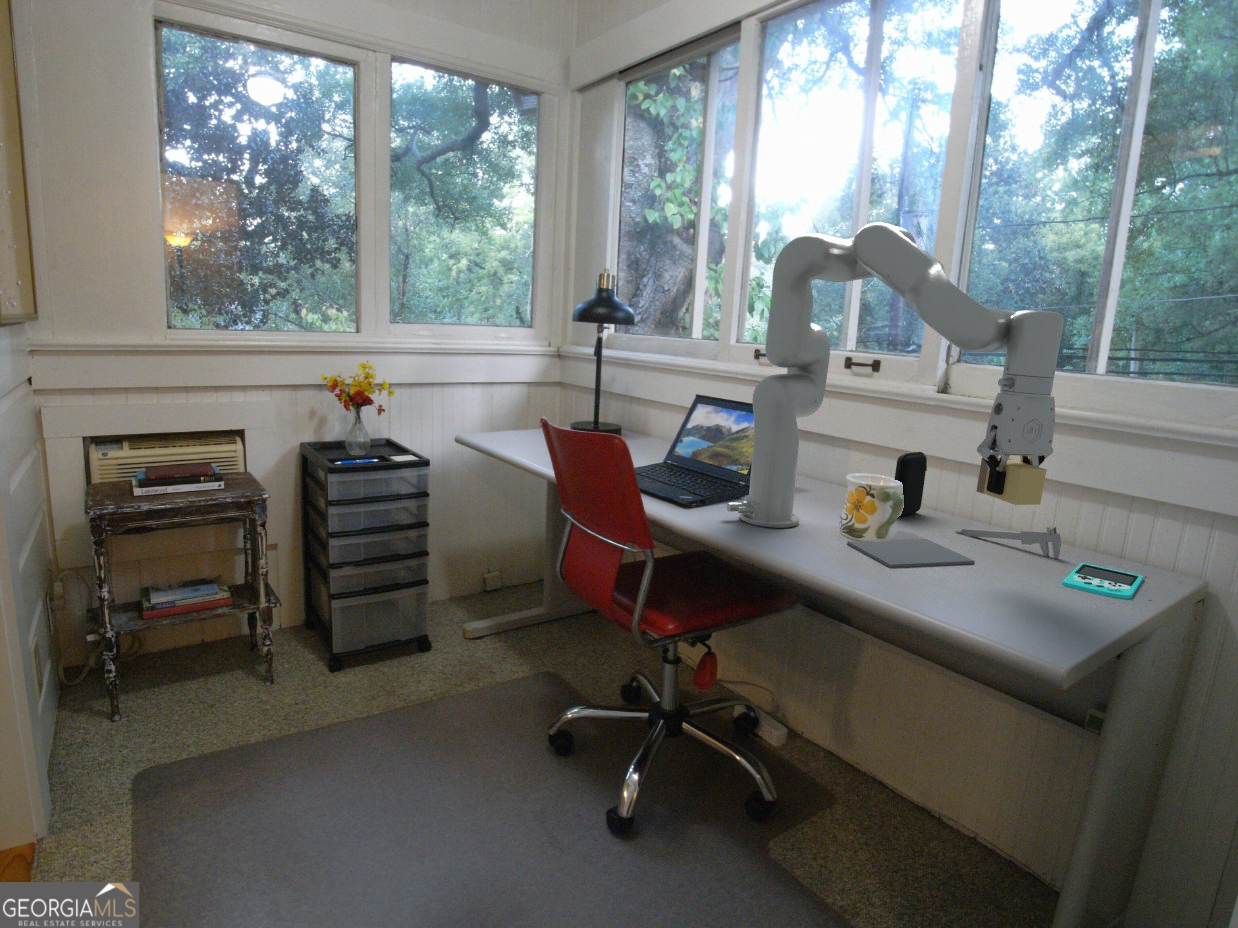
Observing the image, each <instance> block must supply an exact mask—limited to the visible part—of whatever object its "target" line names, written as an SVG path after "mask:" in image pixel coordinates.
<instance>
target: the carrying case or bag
mask: <svg viewBox="0 0 1238 928" xmlns="http://www.w3.org/2000/svg"><path fill="white" fill-rule="evenodd" d="M927 461H928V460H927V456H926V454H924V452H923V451H913V452H906V453H905V452H904V453H903V454H901V455H900V456H898V458H897V460H896V466H895V473H894V480H898V481H900V482H902V484H903V495H904V508H903V511H902V514H901V516H900V517H903V515H904V516H908V515H914V514H915V513H917V512H919V511H920V510H921V507H922V502H923V495H924V488H925V479H926V472H927V471H928V467H927V466H928V465H927V464H928V462H927Z"/></svg>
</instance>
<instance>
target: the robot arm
mask: <svg viewBox="0 0 1238 928" xmlns="http://www.w3.org/2000/svg"><path fill="white" fill-rule="evenodd" d="M776 257H777V258H776V259H775V262H774V266H773V271H772V283H771V299H770V307H769V313H768V314H769V315H768V319H767V320H768V321H767V328H766V329H767V330H766V337H765V349H764V350H765V356H766V358H767V360H768V362H769V363H770V364H772V366H775V367H779V368H786V369H787V370H786V373H778V374H777V373H776V374H771V375H769V376H766V377H764V378H763V379H761V380H760V381H759V382H758V383H757V385H756V386H755V388H754V390H753V393H752V414H753V443H752V457H751V469H750V478H749V481H750V482H749V491H748V496H747V497H744V498H743V499H744V500H741V501H740V502H727V503H726V510H727V512H736V513H737V514H739V517H740V520H742V521H743V522H745V523H748V524H751V525H753V526H758V527H764V528H775V529H776V528H777V529H783V528H784V529H786V528H787V529H788V528H792V527H797V526H798V525H799V524H800V517H799V516H798V515H797V514H795V513H793V512H794V511H793V510H794V503H795V502H794V501H795V491H796V480H797V467H798V461H799V460H798V459H799V449H800V434H799V427H798V423H797V419H798V418H805V417H809V416H811V415H814V414H815V413H816V412H817V411H818V410H819V409H820V407H821V405H822V403H823V401H824V398H825V393H826V385H827V379H828V373H829V372H828V371H829V364H830V355H831V343H830V342H831V341H830V339H829V336H828V334H827V332H826V331H825V330H824V328H823V327H822V326H820V325H818V324H815V323H813V322H812V316H813V315H812V313H813V308H814V295H813V289H812V281H815V280H819V281H825V282H832V283H845V282H853V281H857V280H858V281H859V280H864V279H870V278H877V279H878V280H879V281H880V282H882V283H883V284H884V285H886V286H887V287H888V288H889V289H890V290H892V291H893V292H894V293H896V294H897V295H898V296H899V297H901V298H902V299H903V300H905V301H906V302H907V303H908V305H909V307H910V308H911V309H912V310H913V311H914V312H915V313H916V314H917V315H918V317H919V318H921V320H922V321H923V322H924V323H925V324H926V325H928V326H929V327H930V328H931V329H933V330H934V331H935V332H936V333H938V334H939V335H940V336H942V338H944V339H945V340H946V341H948V342H949V343H951V344H952V345H954V346H955V347H957V348H958V349H960V350H963V351H966V352H970V353H971V352H972V353H973V352H974V353H975V352H976V353H977V352H979V353H998V352H1005V359H1004V365H1003V371H1002V377H1001V378H999V379H998V381H997V385H998V386H999V387H1000V390H999V392H997V393H996V396H995V398H994V401H993V405H992V407H991V411H990V414H989V419H988V422H987V428H986V430H985V431H986V433H985V438H984V439H983V441H982V442H981V443H980V444H979V445H978V446H977V448H976V451H977V453H978V454H979V455H980V456H981V458H983V459H984V460H985V462H986V463H987V467H988V468H990V471H989V477H988V483H987V491H989V492H992V493H995V494H998V495H1002V494H1003V490H1004V484H1005V478H1006V472H1005V471H1003V470H1004V468H1005V466H1006V463H1007V461H1008V459H1010V456H1019V459H1020V461H1019V462H1022V463H1026V464H1029V465H1033V466H1036V467H1040V466H1041V464H1043V463H1044V462H1045V460H1046V459H1048V457H1050V456H1051V455H1052V454H1053V453H1054V448H1053V447H1052V446H1053V442H1054V441H1053V440H1054V433H1055V424H1056V423H1055V421H1056V401H1055V400H1056V399H1055V396H1052V392H1053V386H1054V382H1055V381H1054V380H1055V374H1056V370H1057V369H1056V368H1057V363H1058V356H1059V352H1060V346H1061V341H1062V334H1063V330H1064V322H1065V320H1064V317H1063V315H1062V314H1061V313H1060V312H1057V311H1049V310H1034V309H1033V310H1031V309H1030V310H1029V309H1027V310H1026V309H1025V310H1024V309H1023V310H1019V311H1014V310H1008V309H1003V308H997V307H990V306H985V305H984V306H983V305H982V304H981V303H979V302H977V301H976V300H974V299H973V298H972V297H971V296H970V295H968V294H966V293H965V292H964V291H963V290H961V289H960V288H959V287H957V286H956V285H955V284H954V283H953V282H951V280H950V279H949V278H948V276H947V275H946V274H945V273H946V272H945V265H944V264H943V263H942V262H941V261H940V260H938V258H936V257H934V256H933V255H932V254H930V253H929V252H928V251H926V250H925V249H924V248H922V247H920V246H919V245H918V244H917V241H916V239H915V237H914V236H913V234H912V233H911V232H909V231H908V230H907V229H905V228H903V227H900V226H895V225H893V224H890V223H885V222H872V223H869V224H866V225H865V226H863V227H862V228H861V229H860V230H858V232H857V233H856V235H855V236H854V237H853V238H847V239H844V238H840V237H836V236H831V235H828V234H823V233H822V234H821V233H808V234H806V233H805V234H803V235H800V236H798V237H796V238H794V239H792V240H790V241H789V242H788V243H786V244H785V246H784V247H783V248H782V249H781V250H780V252H779V254H778V256H776ZM999 456H1000V457H999ZM998 458H1000V459H999V460H998Z"/></svg>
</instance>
